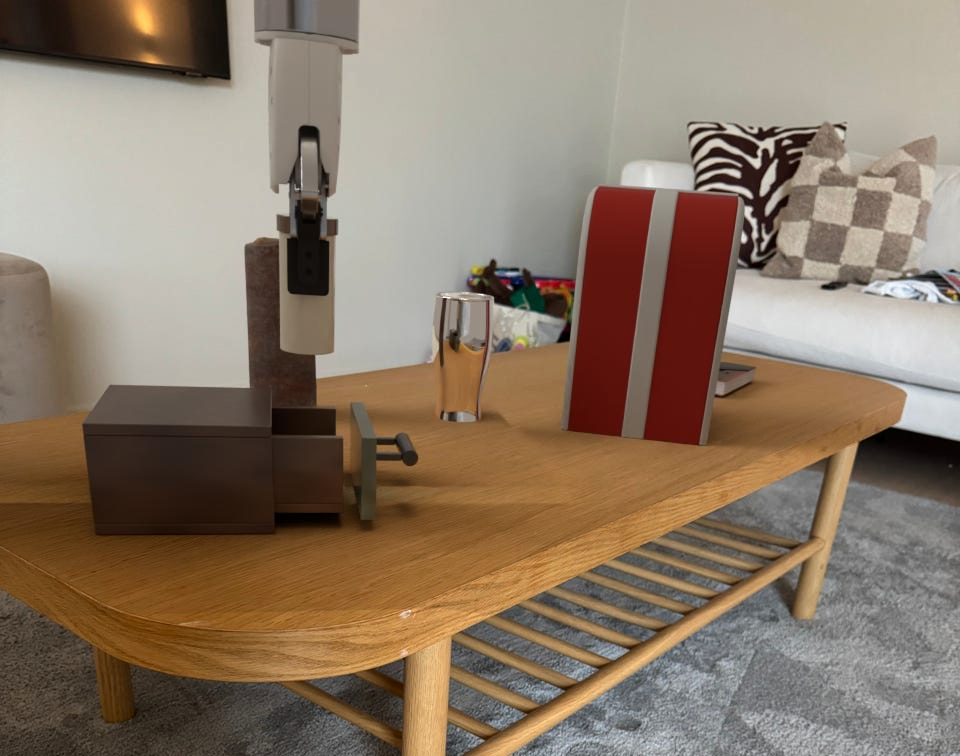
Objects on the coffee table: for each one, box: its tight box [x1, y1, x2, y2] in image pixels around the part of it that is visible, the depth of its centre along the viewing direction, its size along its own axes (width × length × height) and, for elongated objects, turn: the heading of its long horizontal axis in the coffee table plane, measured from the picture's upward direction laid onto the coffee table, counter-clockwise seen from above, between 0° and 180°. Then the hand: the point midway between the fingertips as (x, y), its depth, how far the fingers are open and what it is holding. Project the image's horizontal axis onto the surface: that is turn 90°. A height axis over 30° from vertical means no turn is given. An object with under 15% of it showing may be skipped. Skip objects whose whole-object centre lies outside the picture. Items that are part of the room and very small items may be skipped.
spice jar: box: [275, 212, 339, 356], centre depth 77 cm, size 5×5×10 cm
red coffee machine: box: [560, 183, 746, 446], centre depth 116 cm, size 16×18×27 cm
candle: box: [243, 236, 318, 406], centre depth 104 cm, size 8×7×20 cm
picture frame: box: [715, 361, 757, 398], centre depth 150 cm, size 16×2×22 cm
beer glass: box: [431, 291, 495, 423], centre depth 109 cm, size 7×7×15 cm
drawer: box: [272, 401, 419, 521], centre depth 83 cm, size 16×13×7 cm
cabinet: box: [81, 384, 276, 536], centre depth 81 cm, size 14×14×9 cm
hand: (307, 287), depth 77 cm, fingers closed on spice jar, 4 cm apart
